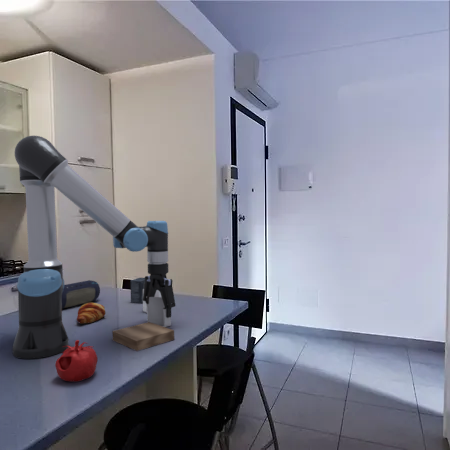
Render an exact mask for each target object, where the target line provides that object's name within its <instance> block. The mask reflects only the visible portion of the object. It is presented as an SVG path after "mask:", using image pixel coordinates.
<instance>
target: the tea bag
mask: <svg viewBox="0 0 450 450" xmlns="http://www.w3.org/2000/svg"><path fill="white" fill-rule="evenodd" d="M167 305H168V304H167ZM164 307H165V306H164V303H163V300H162V297H149V306H148V321H147V322H151V323H154V324H157V325H160V326H163V327H164V319H163V308H164Z"/></svg>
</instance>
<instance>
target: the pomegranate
mask: <svg viewBox="0 0 450 450" xmlns="http://www.w3.org/2000/svg"><path fill="white" fill-rule="evenodd" d="M84 344H89V343H88V342H86V341H85V342H84V341H83V342H82V343H80V340H79V339H76V340H75V341H74V346H70V345H69V346H63V347H68V348H67V349H66V350H64V351H63V352H62V354H61V355H60V357H59V358H57V360H56V361H55V362H54V363H55V364H54V366H55V370H56V373H57V375H58V377H59V378H60V379H61V380H63V381H66V382H75V383H77V382H81V381H83V380H87V379H90V378H91V377H92V376H93V375H94V374H95V372H96V369H97V364H98V355H97V353H96V350H95V349H94V348H93V347H92V345H91V346H90V345H88V346H84Z"/></svg>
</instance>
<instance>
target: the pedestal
mask: <svg viewBox="0 0 450 450" xmlns="http://www.w3.org/2000/svg"><path fill="white" fill-rule="evenodd" d="M174 340H175V329H171V328H168V327H164V326H160V325H157V324H154V323H151V322H148V321H147V322H144V323H140V324H139V323H138V324H135V325H132V326H126V327H123V328H119V329H115V330H112V341H113V342H116V343H117V344H120V345H122V346H124V347H126V348H129V349H131V350H133V351H136V352H138V351H141V350H145V349H149V348H152V347H154V346H157V345H161V344H164V343H168V342H171V341H174Z"/></svg>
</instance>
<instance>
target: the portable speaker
mask: <svg viewBox="0 0 450 450" xmlns="http://www.w3.org/2000/svg"><path fill="white" fill-rule="evenodd" d="M100 294H101V288H100V284H99V282H98V281H95V280H90V279H89V280H84V281H78V282H73V283H66V284H64V289H63V292H62V310H63V309H67V308H70V307H75V306H79V305H84V304H86V303H93V302H94V301H96V300H97V299H98V298H99V296H100Z"/></svg>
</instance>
